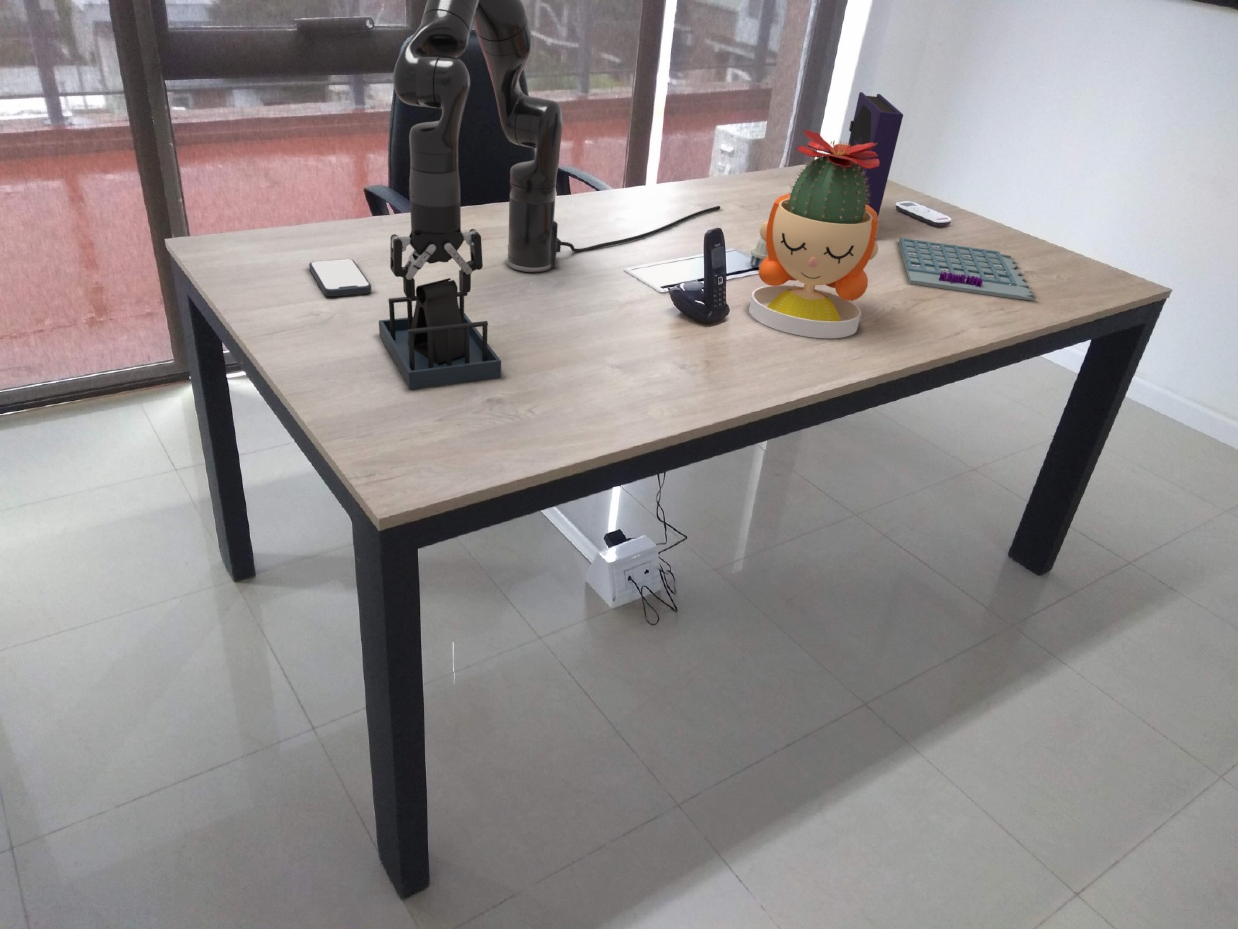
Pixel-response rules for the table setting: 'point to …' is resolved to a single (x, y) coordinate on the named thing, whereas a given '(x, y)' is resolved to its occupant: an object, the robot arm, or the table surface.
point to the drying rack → (422, 369)
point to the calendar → (963, 269)
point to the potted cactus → (819, 244)
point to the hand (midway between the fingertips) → (437, 296)
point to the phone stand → (438, 319)
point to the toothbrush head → (759, 253)
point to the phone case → (339, 277)
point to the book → (876, 141)
